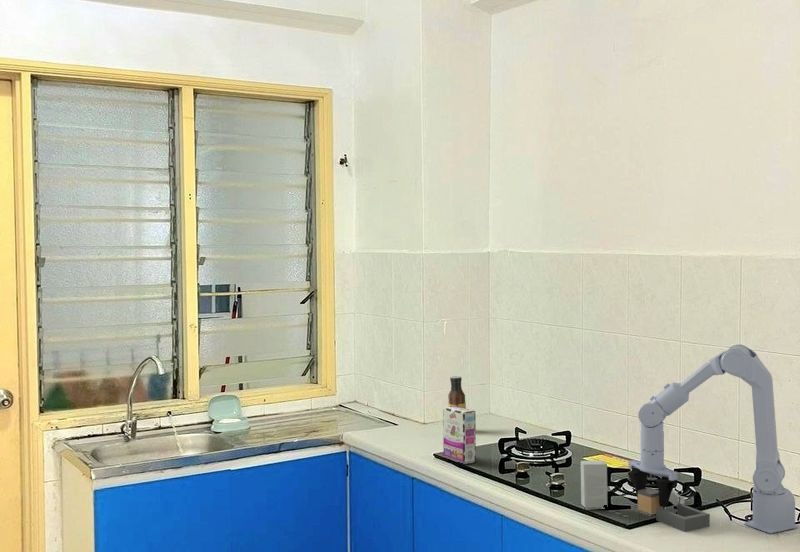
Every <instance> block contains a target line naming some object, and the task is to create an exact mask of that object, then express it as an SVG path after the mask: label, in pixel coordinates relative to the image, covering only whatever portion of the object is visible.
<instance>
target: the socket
mask: <svg viewBox="0 0 800 552" xmlns="http://www.w3.org/2000/svg"><path fill="white" fill-rule="evenodd" d="M676 511H677V512H676V513H677V514H676V513H675V512H673V511H670V510H667V509H665V508H663V509H662V508H656V515H655V516H656V521H657V522H659V523H661V524H664V525H667V526H669V527H672V528H674V529H677V530H680V531H681V532H683V533H685V532H690V531H695V530H701V529H705V528H710V526H711V522H710V520H711V516H710V515H711V514H710V513H707V512H704V511H702V510H699V509H697V508H694V507H691V506H689V505H686V504H684V505H683V504H677V507H676Z"/></svg>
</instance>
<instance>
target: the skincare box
mask: <svg viewBox="0 0 800 552" xmlns="http://www.w3.org/2000/svg"><path fill="white" fill-rule="evenodd" d="M580 493H581V494H580V499H581V501H580V503H581V504H582V505H583V506H584V507H586V508H587V507H588V508H589V507H590V508H591V507H603V506H604V505H607V506H608V465H607V463H606V462H605V461H604V460H603V459H600V460H580Z"/></svg>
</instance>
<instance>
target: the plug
mask: <svg viewBox="0 0 800 552" xmlns="http://www.w3.org/2000/svg"><path fill="white" fill-rule="evenodd" d="M656 508H662V509H664V507H661V506H660V503H659V491H658V489H656V488H652V487H647V488H646V489H642V490H638V499H637V510H638V509H639V510H642V511H645V512H648V513H650V514H653V513H656Z"/></svg>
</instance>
